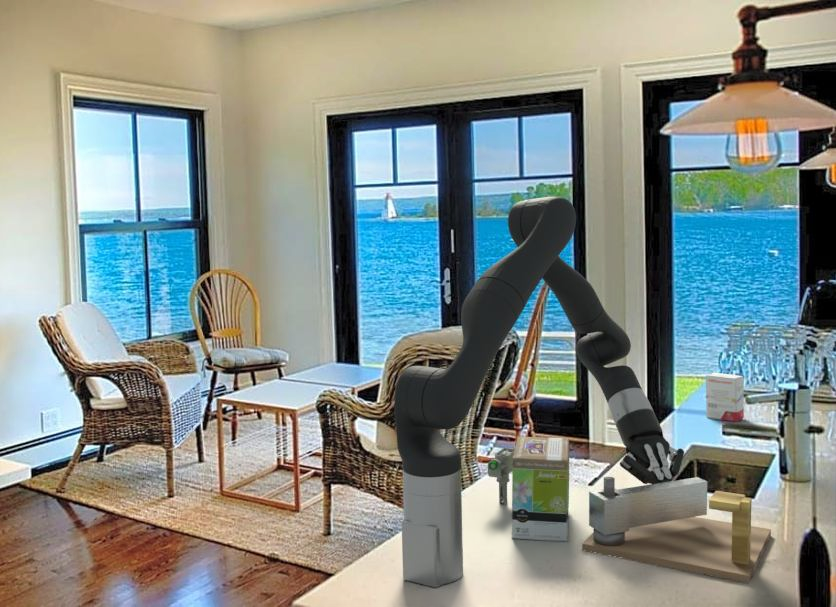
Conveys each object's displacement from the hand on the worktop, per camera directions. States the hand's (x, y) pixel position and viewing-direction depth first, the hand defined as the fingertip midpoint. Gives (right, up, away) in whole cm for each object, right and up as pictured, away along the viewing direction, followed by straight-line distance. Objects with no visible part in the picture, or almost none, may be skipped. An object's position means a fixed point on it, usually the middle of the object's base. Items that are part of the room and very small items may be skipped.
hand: (671, 501), depth 148 cm
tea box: (-22, -6, +5) cm, 24 cm away
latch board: (0, -6, -5) cm, 8 cm away
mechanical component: (-28, -4, +16) cm, 33 cm away
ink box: (+38, +4, +77) cm, 86 cm away
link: (-5, -2, -3) cm, 6 cm away
